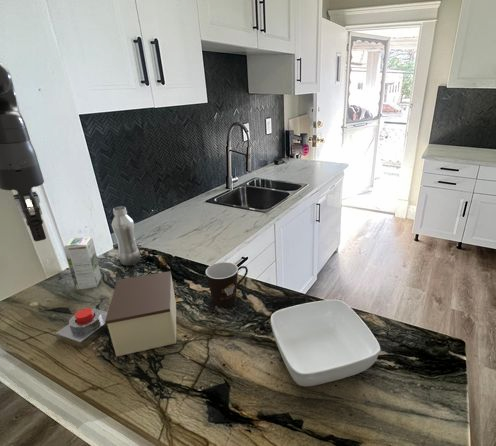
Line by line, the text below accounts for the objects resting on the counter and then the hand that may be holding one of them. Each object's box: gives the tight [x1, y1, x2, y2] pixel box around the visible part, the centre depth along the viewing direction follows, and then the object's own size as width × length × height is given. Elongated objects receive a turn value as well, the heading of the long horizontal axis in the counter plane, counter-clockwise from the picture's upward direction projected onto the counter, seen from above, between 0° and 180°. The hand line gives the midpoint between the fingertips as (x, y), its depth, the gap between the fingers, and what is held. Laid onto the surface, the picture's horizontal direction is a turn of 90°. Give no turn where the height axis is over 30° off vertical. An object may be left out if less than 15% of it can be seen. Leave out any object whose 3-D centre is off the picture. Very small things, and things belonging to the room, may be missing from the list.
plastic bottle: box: [111, 205, 141, 266], centre depth 103 cm, size 6×7×20 cm
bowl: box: [270, 299, 381, 387], centre depth 70 cm, size 20×20×8 cm
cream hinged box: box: [107, 275, 177, 357], centre depth 77 cm, size 16×13×10 cm
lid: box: [105, 270, 172, 324], centre depth 74 cm, size 16×13×1 cm
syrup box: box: [63, 236, 103, 291], centre depth 93 cm, size 6×6×14 cm
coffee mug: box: [205, 261, 249, 308], centre depth 88 cm, size 12×9×10 cm
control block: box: [54, 307, 109, 350], centre depth 77 cm, size 10×8×4 cm
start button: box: [74, 307, 94, 324], centre depth 76 cm, size 4×4×2 cm
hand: (40, 239), depth 71 cm, fingers closed
